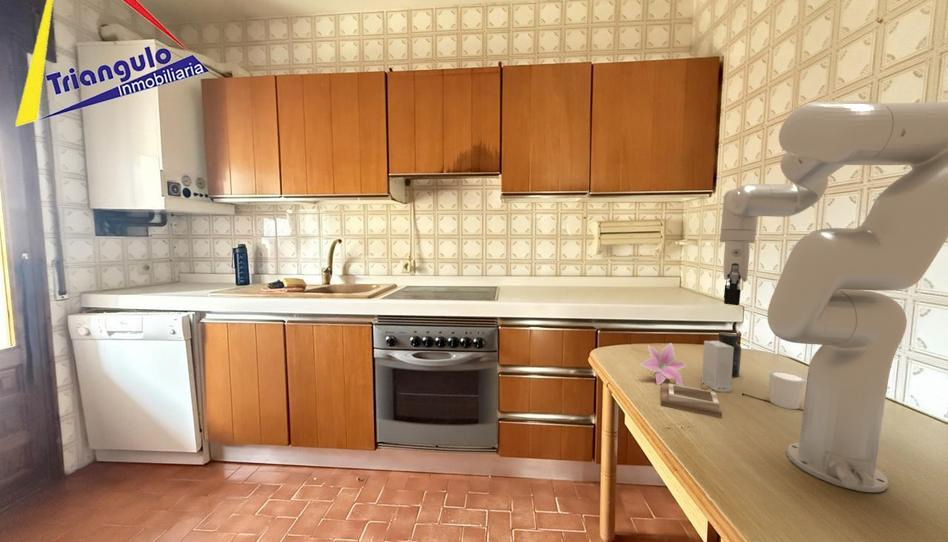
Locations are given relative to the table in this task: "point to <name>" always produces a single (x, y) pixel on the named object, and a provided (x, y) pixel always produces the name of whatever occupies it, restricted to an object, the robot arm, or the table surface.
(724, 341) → the supplement bottle
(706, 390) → the square wooden tray
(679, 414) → the table surface
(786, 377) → the white cylinder
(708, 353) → the skincare box
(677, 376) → the lily
